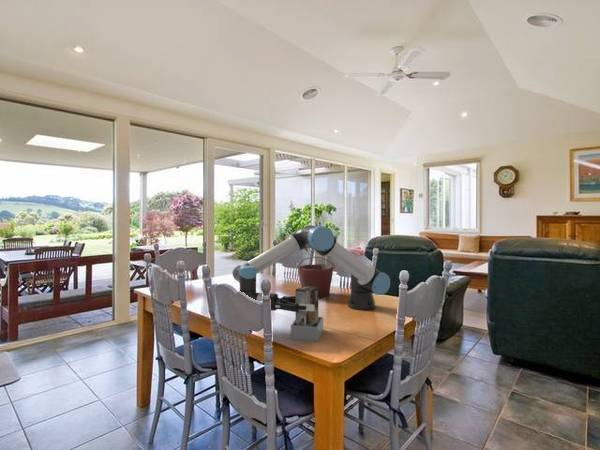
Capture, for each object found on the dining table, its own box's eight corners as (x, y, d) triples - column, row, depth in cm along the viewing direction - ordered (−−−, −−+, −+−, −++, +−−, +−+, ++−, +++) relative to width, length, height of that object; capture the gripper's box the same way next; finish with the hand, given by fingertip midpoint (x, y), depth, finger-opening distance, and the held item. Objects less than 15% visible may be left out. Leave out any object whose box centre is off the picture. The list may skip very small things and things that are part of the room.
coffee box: (307, 320, 161) (307, 285, 160) (318, 323, 157) (319, 287, 156) (294, 325, 154) (294, 288, 153) (306, 328, 150) (306, 290, 149)
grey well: (323, 329, 162) (323, 317, 161) (317, 341, 147) (317, 327, 147) (298, 328, 164) (298, 315, 164) (290, 339, 150) (290, 325, 150)
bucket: (292, 298, 221) (292, 258, 220) (302, 290, 242) (302, 254, 241) (331, 300, 214) (331, 259, 213) (338, 292, 235) (338, 255, 234)
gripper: (275, 303, 170) (320, 306, 166) (259, 317, 148) (311, 321, 143) (275, 288, 170) (320, 290, 165) (259, 299, 148) (311, 302, 143)
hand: (316, 304), depth 154 cm, fingers closed on coffee box, 10 cm apart
